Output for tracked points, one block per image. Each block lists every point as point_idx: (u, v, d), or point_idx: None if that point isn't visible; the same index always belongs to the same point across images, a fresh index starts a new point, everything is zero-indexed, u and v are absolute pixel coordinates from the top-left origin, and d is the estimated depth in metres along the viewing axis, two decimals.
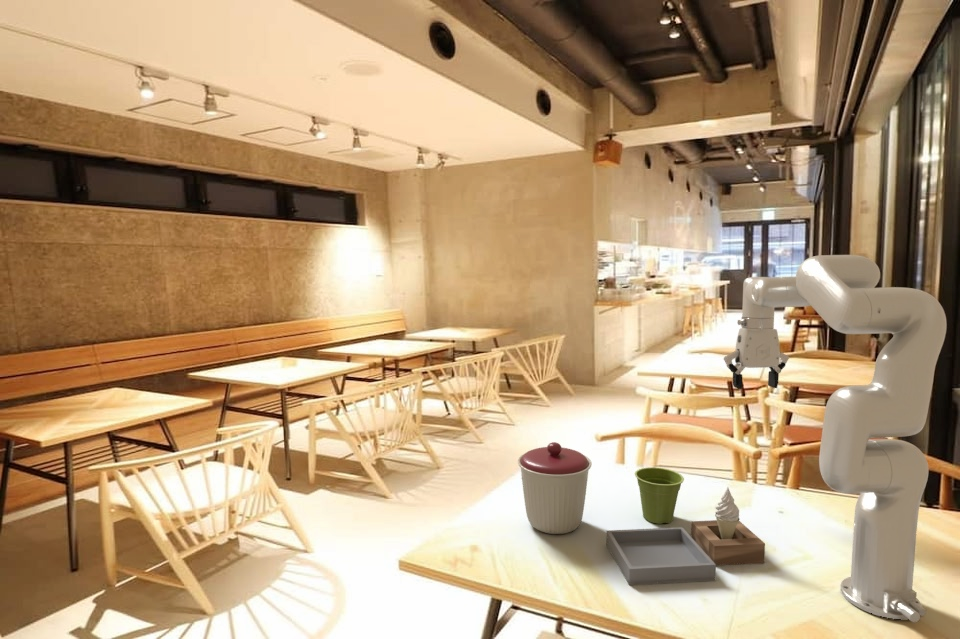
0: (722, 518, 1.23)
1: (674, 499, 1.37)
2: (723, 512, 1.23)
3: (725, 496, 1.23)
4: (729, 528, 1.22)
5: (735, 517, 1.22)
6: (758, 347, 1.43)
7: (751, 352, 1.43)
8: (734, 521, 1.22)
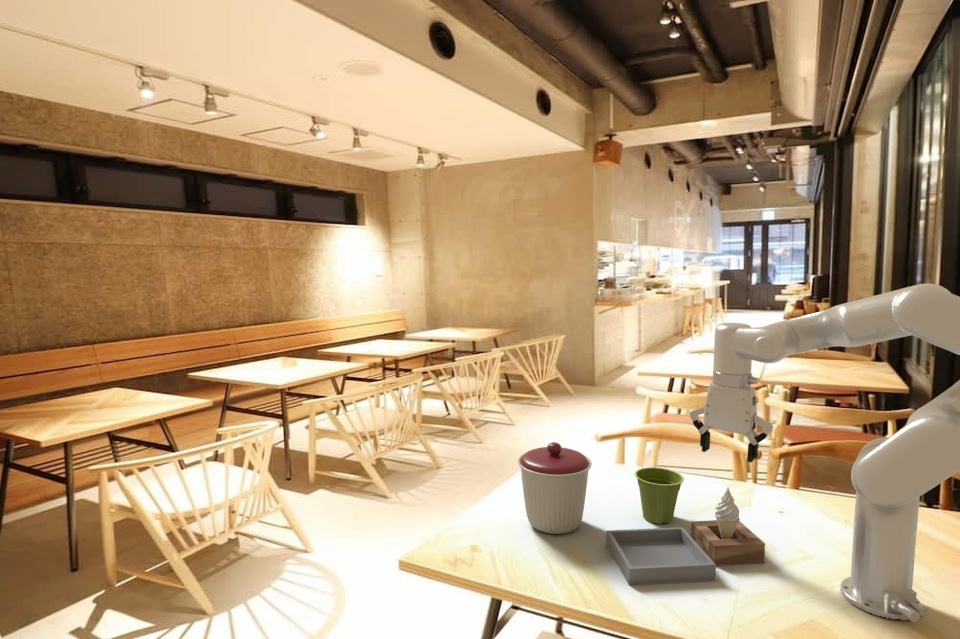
0: (722, 518, 1.23)
1: (674, 499, 1.37)
2: (723, 512, 1.23)
3: (725, 496, 1.23)
4: (729, 528, 1.22)
5: (735, 517, 1.22)
6: None
7: None
8: (734, 521, 1.22)
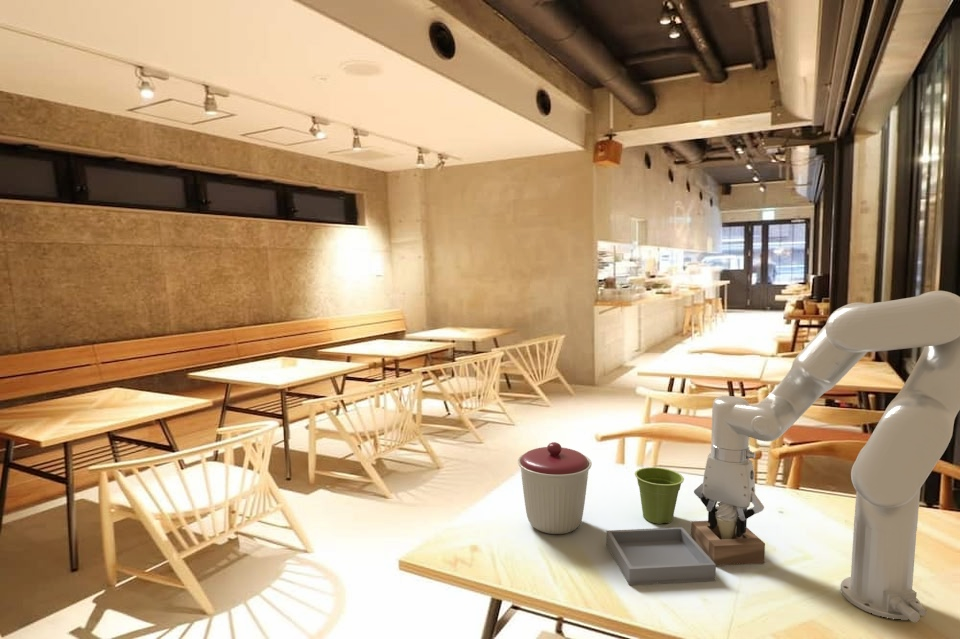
0: (722, 518, 1.23)
1: (674, 499, 1.37)
2: (722, 512, 1.23)
3: None
4: (729, 528, 1.22)
5: (735, 517, 1.22)
6: None
7: None
8: (734, 521, 1.22)
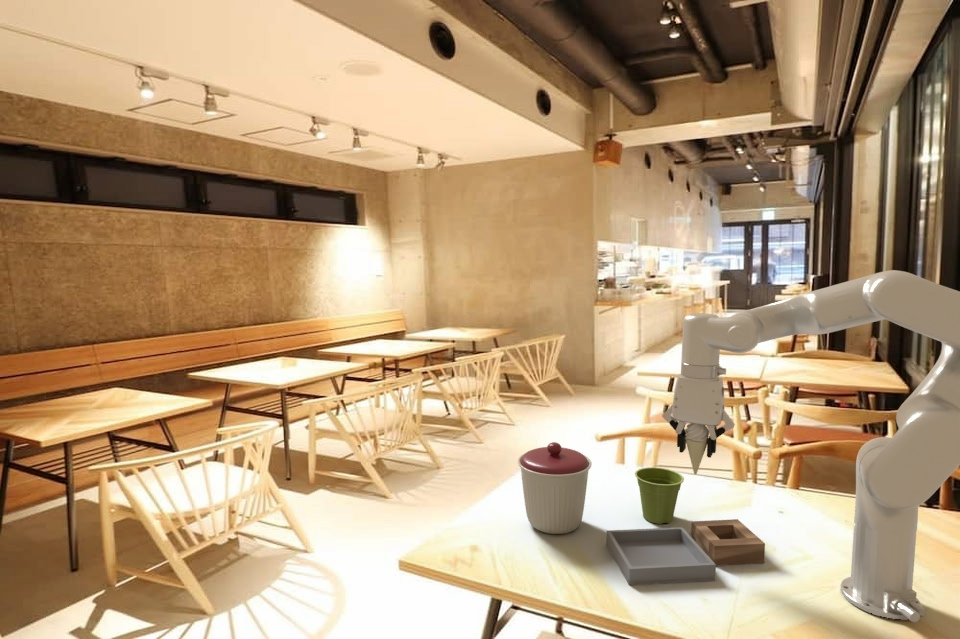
0: (693, 439, 1.19)
1: (674, 499, 1.37)
2: (693, 433, 1.19)
3: None
4: (700, 449, 1.18)
5: (705, 437, 1.18)
6: None
7: None
8: (705, 441, 1.18)
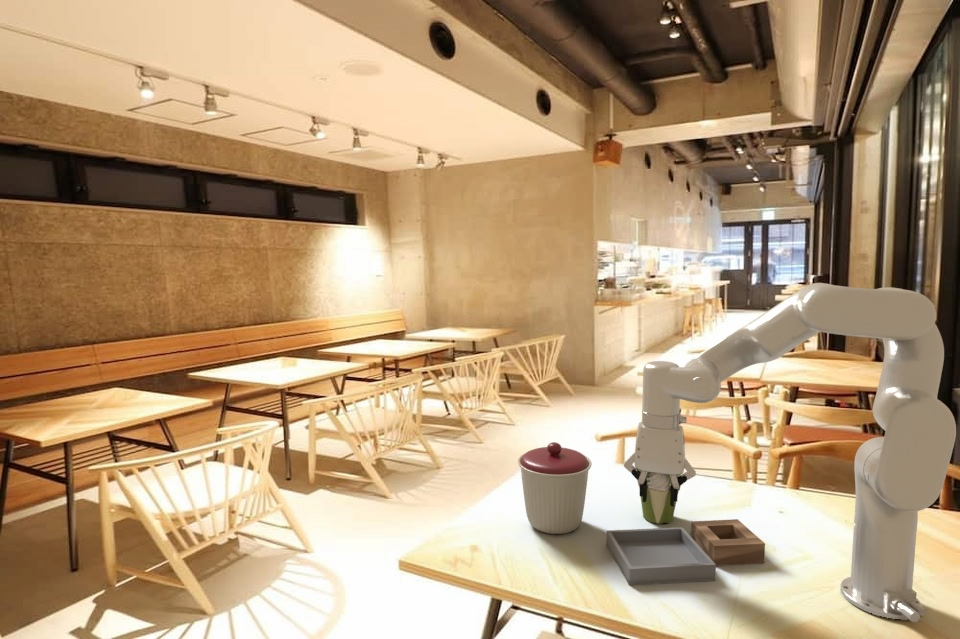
0: (656, 489, 1.17)
1: None
2: (656, 483, 1.17)
3: None
4: (663, 498, 1.17)
5: (668, 486, 1.17)
6: None
7: None
8: (667, 490, 1.17)
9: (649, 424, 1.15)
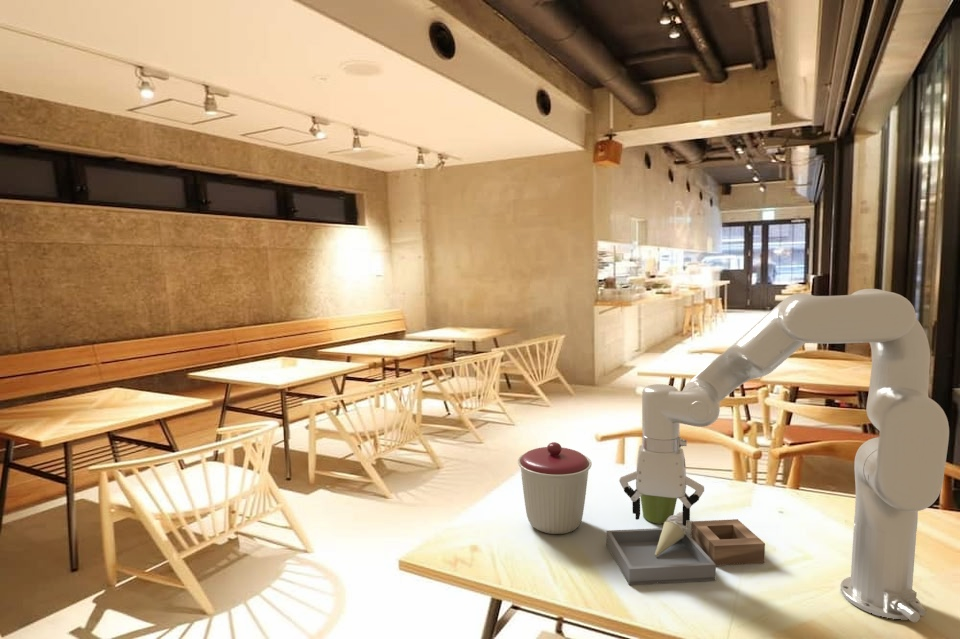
0: None
1: (674, 499, 1.37)
2: None
3: None
4: (671, 531, 1.23)
5: (682, 527, 1.24)
6: None
7: None
8: (679, 527, 1.23)
9: (649, 448, 1.16)
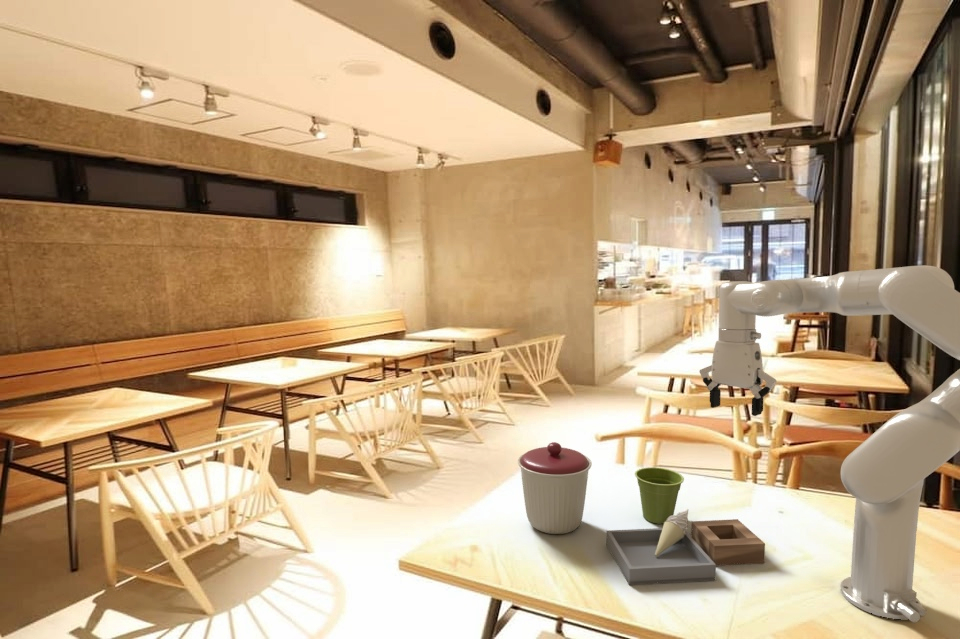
0: None
1: (674, 499, 1.37)
2: None
3: None
4: (671, 531, 1.23)
5: (682, 527, 1.24)
6: None
7: None
8: (679, 527, 1.23)
9: (720, 338, 1.24)
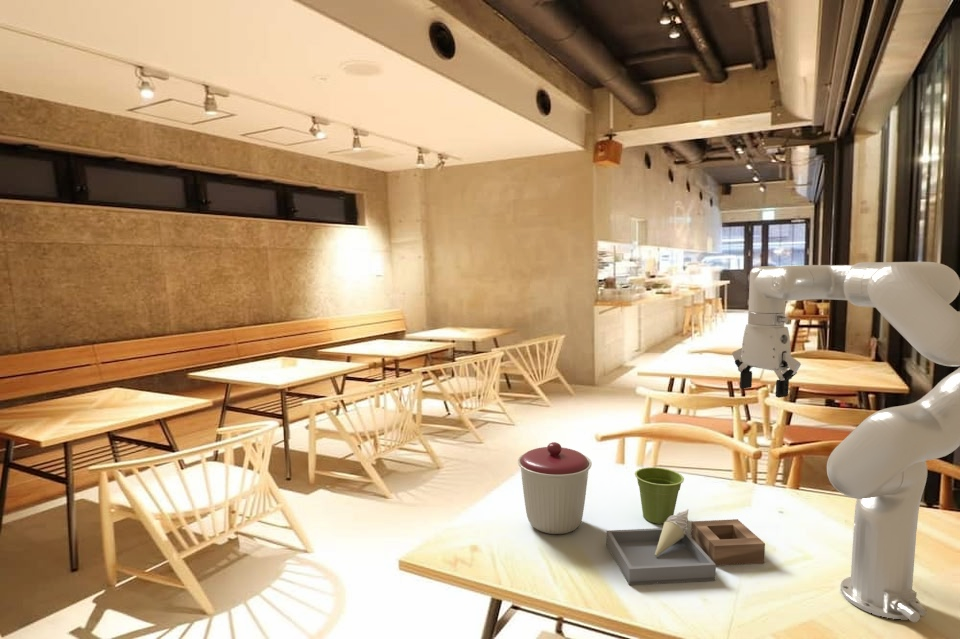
0: None
1: (674, 499, 1.37)
2: None
3: None
4: (671, 531, 1.23)
5: (682, 527, 1.24)
6: None
7: None
8: (679, 527, 1.23)
9: (749, 321, 1.28)
